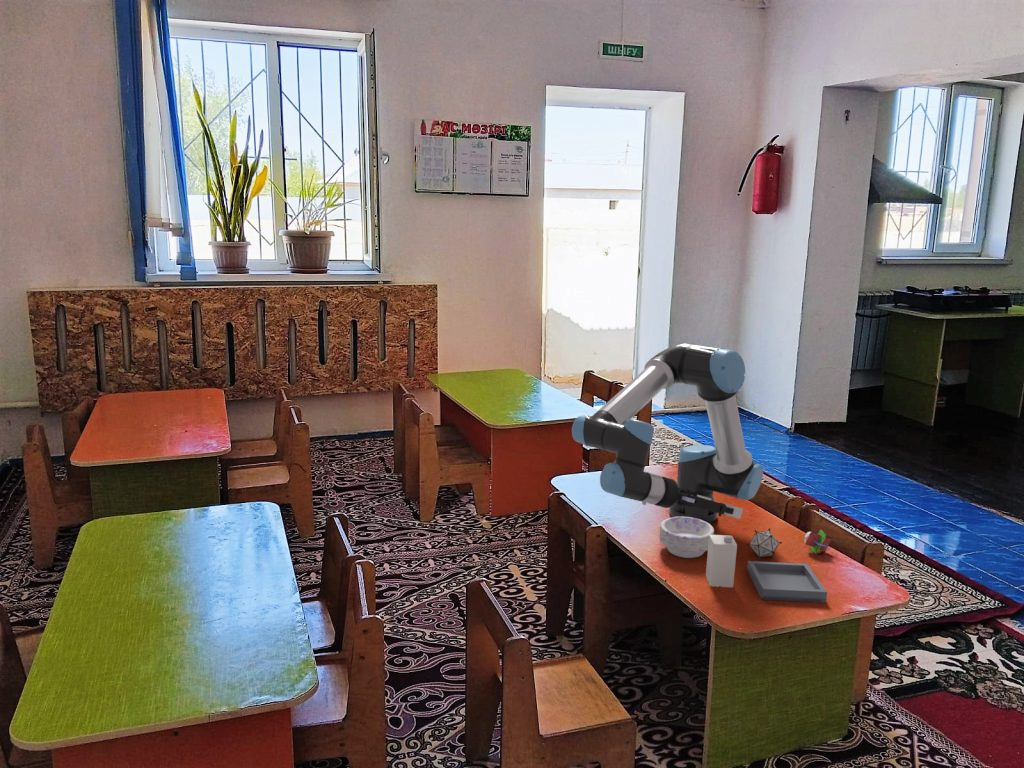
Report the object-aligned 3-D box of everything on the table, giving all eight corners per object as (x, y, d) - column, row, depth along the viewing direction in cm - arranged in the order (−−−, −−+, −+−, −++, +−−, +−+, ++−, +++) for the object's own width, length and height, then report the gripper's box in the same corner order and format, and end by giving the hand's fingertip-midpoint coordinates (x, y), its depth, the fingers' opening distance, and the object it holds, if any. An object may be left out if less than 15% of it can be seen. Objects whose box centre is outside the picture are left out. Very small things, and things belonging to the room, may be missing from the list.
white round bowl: (663, 562, 216) (665, 536, 214) (654, 539, 230) (656, 515, 229) (718, 564, 215) (720, 537, 214) (705, 541, 230) (707, 516, 229)
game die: (767, 570, 220) (784, 554, 213) (740, 558, 221) (755, 540, 214) (772, 546, 226) (788, 529, 219) (745, 533, 227) (760, 516, 220)
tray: (746, 571, 211) (747, 561, 211) (805, 573, 211) (806, 563, 210) (762, 599, 196) (763, 588, 195) (825, 602, 195) (827, 592, 194)
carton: (705, 575, 208) (709, 531, 205) (727, 576, 208) (732, 532, 205) (709, 586, 202) (714, 540, 199) (733, 587, 202) (737, 541, 199)
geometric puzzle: (830, 540, 228) (816, 520, 226) (841, 550, 221) (827, 529, 220) (809, 553, 229) (796, 533, 227) (820, 563, 222) (806, 543, 220)
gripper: (629, 495, 206) (694, 512, 214) (681, 515, 183) (751, 532, 190) (636, 468, 206) (700, 486, 214) (689, 484, 183) (759, 503, 191)
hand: (724, 508), depth 202 cm, fingers open, 13 cm apart
